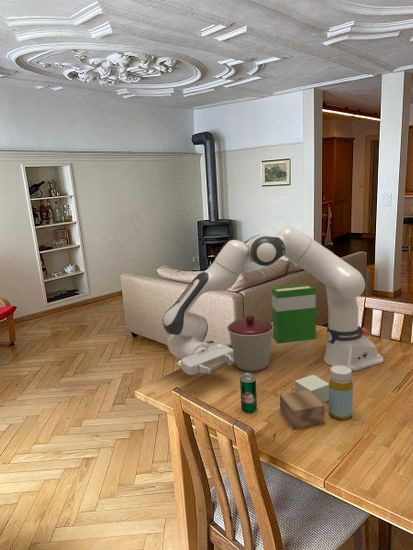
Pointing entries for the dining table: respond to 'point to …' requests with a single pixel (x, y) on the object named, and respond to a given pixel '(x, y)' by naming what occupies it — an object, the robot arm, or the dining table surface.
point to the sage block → (314, 387)
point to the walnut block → (302, 409)
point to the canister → (251, 342)
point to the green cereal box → (294, 313)
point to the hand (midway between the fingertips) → (222, 366)
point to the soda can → (248, 393)
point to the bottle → (340, 392)
